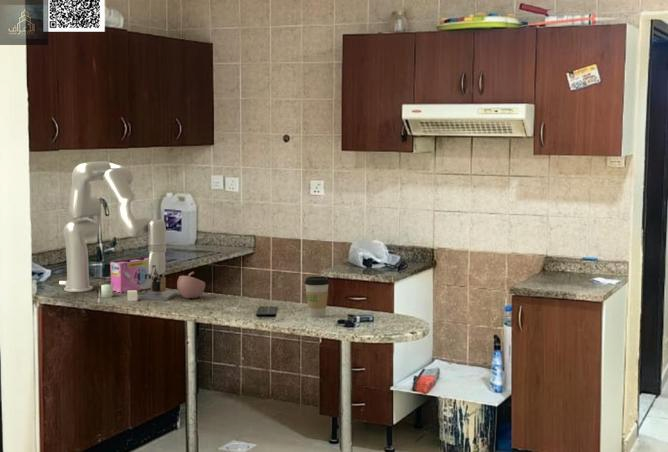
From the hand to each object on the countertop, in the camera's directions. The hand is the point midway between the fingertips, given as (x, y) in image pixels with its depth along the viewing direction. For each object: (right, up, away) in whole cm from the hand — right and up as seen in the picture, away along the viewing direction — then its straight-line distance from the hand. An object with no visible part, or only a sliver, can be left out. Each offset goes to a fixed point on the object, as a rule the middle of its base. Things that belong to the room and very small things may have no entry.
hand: (158, 289), depth 429 cm
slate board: (0, -3, 0) cm, 3 cm away
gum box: (-14, -1, +21) cm, 25 cm away
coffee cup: (+70, -8, -42) cm, 82 cm away
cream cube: (-10, -4, -6) cm, 12 cm away
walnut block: (0, -1, 0) cm, 1 cm away
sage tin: (-23, -3, +3) cm, 23 cm away
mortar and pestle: (+15, -4, -3) cm, 16 cm away
